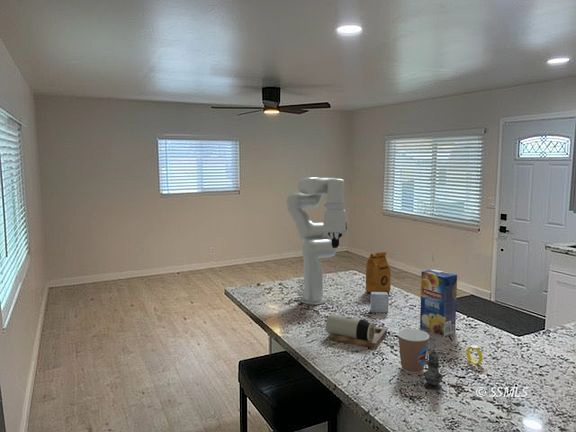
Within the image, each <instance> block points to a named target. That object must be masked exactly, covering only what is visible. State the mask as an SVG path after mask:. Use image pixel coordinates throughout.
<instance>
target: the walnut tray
mask: <svg viewBox="0 0 576 432" xmlns="http://www.w3.org/2000/svg"><path fill="white" fill-rule="evenodd" d="M386 335H388V328H383V327H376V326H375V334H374V338H373V340H372V341H368V340H361V339H356V338H350V337H345V336H340V335H334V334H329V341H335V342H340V343H345V344H350V345H355V346H360V347H364V348H370V349H375V350H376V349H377V348H378V346H379V345H380V344H381V342H382V341H383V340H384V338H385V337H386Z"/></svg>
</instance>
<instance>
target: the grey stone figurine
mask: <svg viewBox="0 0 576 432" xmlns="http://www.w3.org/2000/svg"><path fill="white" fill-rule="evenodd" d="M439 359H440V358H439V353H438V352H437V351H436V349H435V348H433V349H432V351H430V352H429V353H428V361H427V362H426V363H427V365H428V368H427V370H426V371H424V372H423V373H422V375H423V376H424V377H423V378H424V380H425V382H424V383H423V386H424V388H425V389H428V390H430V391H435V392H437V391H441V390H442V388H443V387H442V385H441V383H442V381H443V379H444V375H443V373H441V372H439V367H440V363H439Z"/></svg>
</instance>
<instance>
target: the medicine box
mask: <svg viewBox="0 0 576 432" xmlns="http://www.w3.org/2000/svg"><path fill="white" fill-rule="evenodd" d="M388 293H389V292H371V293H370V312H371V313H389V294H388Z"/></svg>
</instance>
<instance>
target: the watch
mask: <svg viewBox="0 0 576 432" xmlns="http://www.w3.org/2000/svg"><path fill="white" fill-rule="evenodd" d="M471 350H473V351H474V350H475V352H477V355H478V362H477V361H475V360H473V359H472V357H471V353H470V352H471ZM465 352H466V354H465V355H466V357H467V359H468V361H469V363H472V364H473V365H476V366H477V365H480V364H482V362H483V361H484V360H483V358H484V357H483V353H482V351H481V349H480V346H478V344H477V345H476V344H471V345H469V346H468V347H467V348H466V351H465Z"/></svg>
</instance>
